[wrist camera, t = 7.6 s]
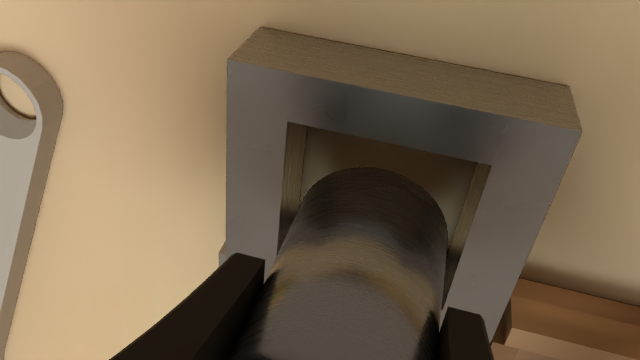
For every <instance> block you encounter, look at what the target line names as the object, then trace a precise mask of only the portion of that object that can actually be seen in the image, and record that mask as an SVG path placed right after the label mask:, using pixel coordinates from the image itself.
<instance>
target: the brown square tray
mask: <svg viewBox="0 0 640 360" xmlns="http://www.w3.org/2000/svg"><path fill="white" fill-rule="evenodd" d="M490 346H491V350H492V353H493V357H494V360H640V307H637V306H633V305H629V304H624V303H620V302H616V301H612V300H608V299H604V298H600V297H595V296H591V295H587V294H583V293H579V292H575V291H571V290H566V289H562V288H558V287H554V286H550V285H546V284H542V283H537V282H533V281H529V280H525V279H521V278H518V281H517V283H516V285H515V288H514V290H513V292H512V295H511V297H510V299H509V301H508V304H507V306H506V308H505V311H504V313H503V315H502V318H501V320H500V322H499V324H498V327H497V329H496V331H495V334H494V336H493V338H492V341H491V343H490Z"/></svg>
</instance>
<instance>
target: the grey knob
mask: <svg viewBox="0 0 640 360" xmlns="http://www.w3.org/2000/svg"><path fill="white" fill-rule="evenodd" d="M447 240H448V231H447V224H446V221H445V217H444V215H443V213H442V211H441V209H440V207H439V206H438V204H437V203H436V201H435V200H434V199H433V198H432V197H431V195H430V194H429V193H428V192H426V191H425V190H424V189H423V188H422V187H421V186H419V185H418V184H416V183H415V182H413V181H412V180H410V179H408V178H406V177H404V176H402V175H399V174H397V173H394V172H391V171H387V170H384V169H378V168H369V167H358V168H349V169H343V170H340V171H337V172H334V173H332V174H329V175H327V176H325V177H324V178H322V179H321V180H319V181H318V182H317V183H316V184H314V185H313V186H312V187H311V189H310V190H309V191H308V192H307V194H306V196H305V197H304V199H303V201H302V203H301V205H300V208H299V210H298V212H297V214H296V216H295V218H294V220H293V223H292V225H291V227H290V229H289V231H288V233H287V236H286V238H285V240H284V242H283V244H282V246H281V248H280V251H279V253H278V255H277V257H276V259H275V261H274V263H273V266H272V268H271V270H270V272H269V274H268V276H267V278H266V281H265V283H264V285H263V287H262V289H261V291H260V293H259V296H258V298H257V300H256V302H255V304H254V306H253V308H252V311H251V313H250V315H249V317H248V319H247V321H246V323H245V326H244V328H243V330H242V332H241V334H240V336H239V338H238V341H237V343H236V345H235V347H234V349H233V351H232V353H231V356H230V358H229V360H437V350H438V339H439V329H440V318H441V307H442V296H443V285H444V274H445V263H446V252H447Z"/></svg>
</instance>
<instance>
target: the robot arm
mask: <svg viewBox="0 0 640 360" xmlns="http://www.w3.org/2000/svg"><path fill="white" fill-rule="evenodd" d="M264 273H265V259H261V258H257V257H253V256H249V255H245V254H241V253H238V252H236V253H234V254H233V255H231V256H230V257H229V258H228V259H227V260H226V261H225V262H224V263H223V264H222V265H221V266H220V267H219V268H218V269H217V270H216V271H215V272H214V273H213V274H212V275H211V276H210V277H208V278H207V279H206V280H205V281H204V282H203V283H202V284H201V285H200V286H199V287H198V288H197V289H195V290H194V291H193V292H192V293H191V294H190V295H189V296H188V297H187V298H186V299H184V300H183V301H182V302H181V303H180V304H178V305H177V306H176V307H175V308H174V309H173V310H171V311H170V312H169V313H168V314H167V315H166V316H164V317H163V318H162V319H161V320H160V321H159V322H157V323H156V324H155V325H154V326H153V327H151V328H150V329H149V330H147V331H146V332H145V333H144V334H142V335H141V336H140V337H138V338H137V339H136V340H135V341H133V342H132V343H131V344H129V345H128V346H127V347H125V348H124V349H123V350H122V351H120V352H119V353H118V354H116V355H115V356H114V357H112V358H111V359H109V360H229V358H230V356H231V353H232V351H233V349H234V347H235V345H236V343H237V341H238V338H239V336H240V334H241V332H242V330H243V328H244V326H245V323H246V321H247V319H248V317H249V315H250V313H251V311H252V308H253V306H254V304H255V302H256V300H257V298H258V296H259V293H260V291H261V289H262V287H263V285H264ZM437 360H494V357H493V353H492V350H491V346H490V343H489V339H488V335H487V330H486V326H485V321H484V319H483V318H482V316H481V315H480V314H476V313H472V312H468V311H464V310H460V309H456V308H452V307H448V308H447V311H446V314H445V317H444V320H443V322H442V325H441V328H440V331H439V339H438V350H437Z"/></svg>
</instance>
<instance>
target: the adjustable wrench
mask: <svg viewBox="0 0 640 360" xmlns="http://www.w3.org/2000/svg"><path fill="white" fill-rule="evenodd" d="M0 73H1V74H3V75H6V76H7V77H9V78H10V79H12V80H13V81H14V82H16V83H17V84H18V85H19V86H20V87H21V88H22V89H23V90H24V91H25V92H26V94H27V95H28V97H29V99H30V100H31V102H32V104H33V106H34V110H35V113H36V119H35V120H33V119H28V118H26V117H23V116H21V115H19V114H18V113H16V112H15V111H14V110H12V109H11V108H10V107H9V106H8V105H7V104H6V103H5V101H4V100H3V98H2V96H1V95H0V360H4V351H5V347H6V343H7V339H8V335H9V331H10V326H11V322H12V318H13V314H14V310H15V306H16V302H17V298H18V294H19V290H20V286H21V282H22V278H23V274H24V270H25V266H26V261H27V257H28V253H29V249H30V245H31V241H32V237H33V233H34V229H35V225H36V221H37V217H38V213H39V209H40V205H41V201H42V196H43V192H44V188H45V184H46V180H47V176H48V172H49V168H50V164H51V160H52V156H53V152H54V148H55V144H56V140H57V136H58V131H59V127H60V123H61V119H62V115H63V100H62V97H61V93H60V90H59V88H58V86H57V85H56V83H55V81H54V80H53V78H52V77H51V75H50V74H49V73H48V72H47V71H46V70H45V69H44V68H43V67H42V66H41V65H40V64H38V63H37V62H35V61H34V60H33V59H31V58H30V57H27V56H25V55H23V54H20V53H18V52H9V51H4V52H1V53H0Z"/></svg>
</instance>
